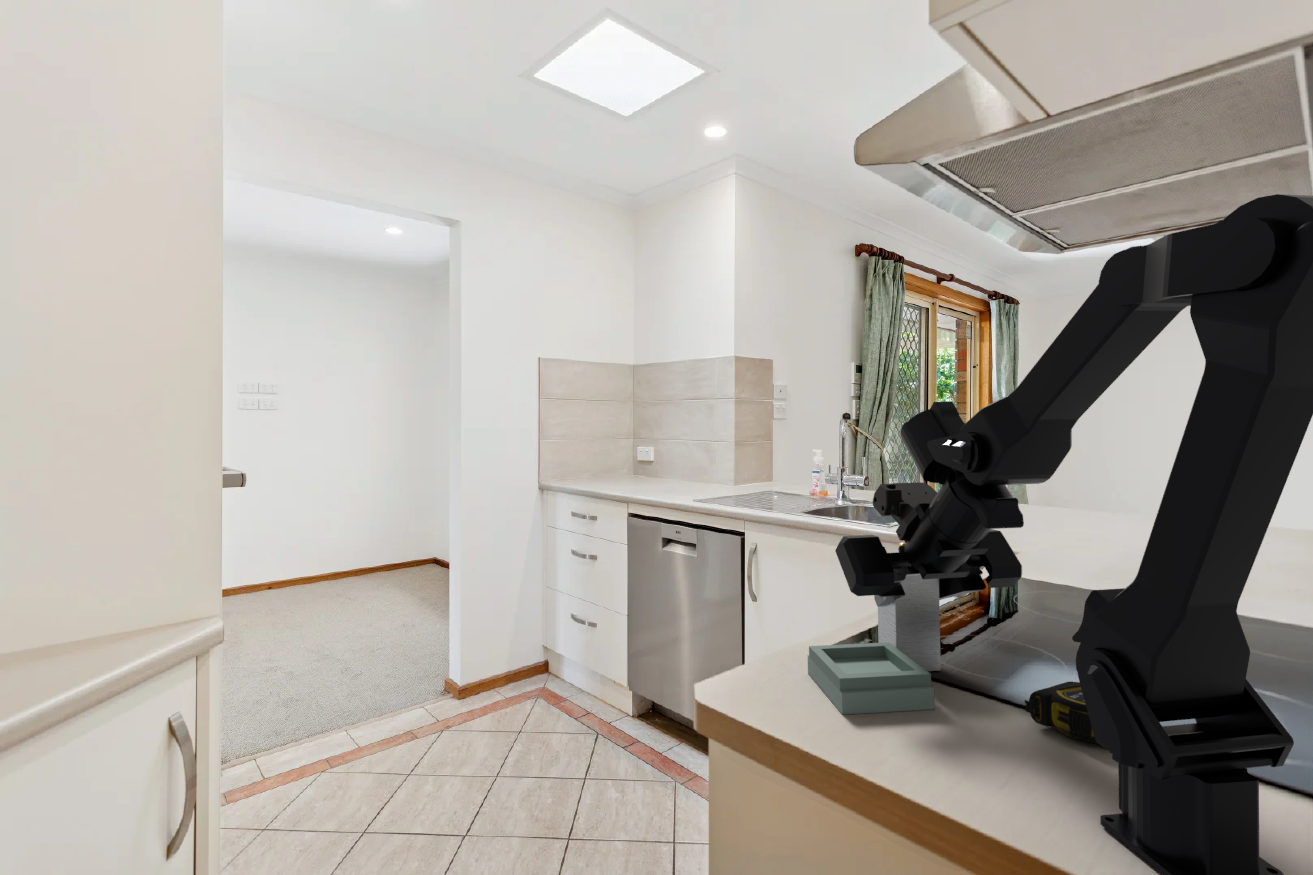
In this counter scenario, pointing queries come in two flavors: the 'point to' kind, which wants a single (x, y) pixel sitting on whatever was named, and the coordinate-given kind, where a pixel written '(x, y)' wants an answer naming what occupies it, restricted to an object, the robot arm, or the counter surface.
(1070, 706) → the tape measure
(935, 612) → the housing
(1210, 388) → the robot arm
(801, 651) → the counter surface
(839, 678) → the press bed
